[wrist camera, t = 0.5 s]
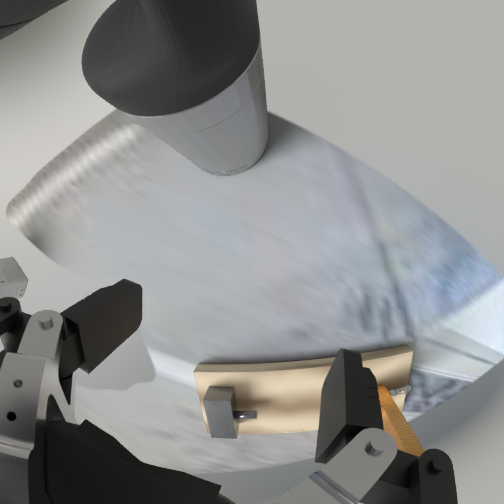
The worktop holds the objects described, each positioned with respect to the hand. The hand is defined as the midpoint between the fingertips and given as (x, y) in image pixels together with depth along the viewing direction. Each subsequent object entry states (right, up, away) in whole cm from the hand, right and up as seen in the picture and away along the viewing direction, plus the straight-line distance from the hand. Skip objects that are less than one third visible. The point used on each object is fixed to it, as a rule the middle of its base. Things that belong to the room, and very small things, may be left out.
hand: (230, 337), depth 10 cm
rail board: (+8, -14, +20) cm, 26 cm away
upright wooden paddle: (+15, -14, +17) cm, 27 cm away
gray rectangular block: (-1, -15, +19) cm, 25 cm away
